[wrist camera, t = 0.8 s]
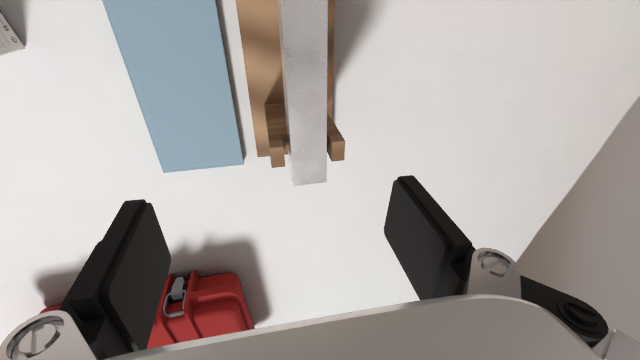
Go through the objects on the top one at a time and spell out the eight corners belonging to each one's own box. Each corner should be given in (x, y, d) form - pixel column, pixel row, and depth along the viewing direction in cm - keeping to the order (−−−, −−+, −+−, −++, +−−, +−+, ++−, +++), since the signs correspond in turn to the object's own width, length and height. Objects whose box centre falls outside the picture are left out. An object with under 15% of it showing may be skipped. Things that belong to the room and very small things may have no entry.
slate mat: (44, -178, 22) (36, -185, 21) (187, -168, 23) (184, -173, 22) (165, 168, 38) (163, 172, 37) (243, 160, 40) (243, 164, 39)
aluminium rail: (267, -135, 18) (270, -155, 16) (317, -132, 19) (328, -151, 16) (289, 168, 30) (293, 186, 28) (319, 165, 31) (326, 182, 28)
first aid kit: (99, 366, 58) (79, 418, 51) (28, 296, 45) (-12, 353, 38) (260, 331, 63) (261, 374, 56) (237, 257, 50) (236, 302, 43)
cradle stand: (215, -148, 24) (189, -252, 14) (333, -140, 26) (391, -227, 15) (257, 152, 40) (260, 212, 29) (329, 145, 41) (356, 199, 31)
